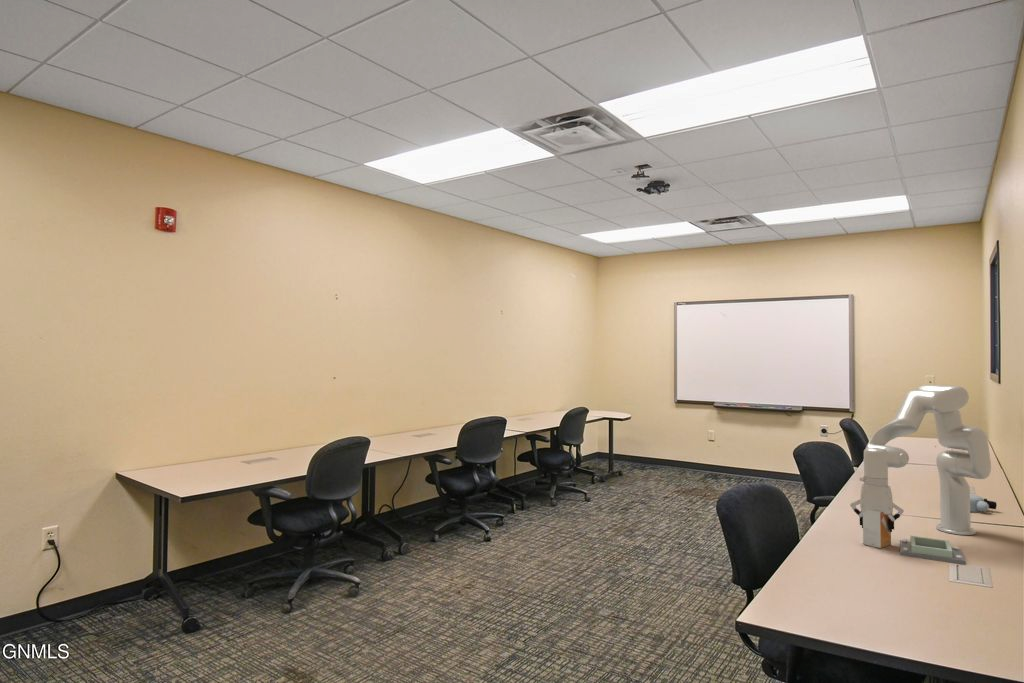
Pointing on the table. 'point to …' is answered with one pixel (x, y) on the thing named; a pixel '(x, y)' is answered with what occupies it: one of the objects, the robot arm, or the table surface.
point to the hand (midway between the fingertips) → (876, 529)
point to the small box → (876, 529)
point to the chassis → (931, 549)
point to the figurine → (980, 503)
